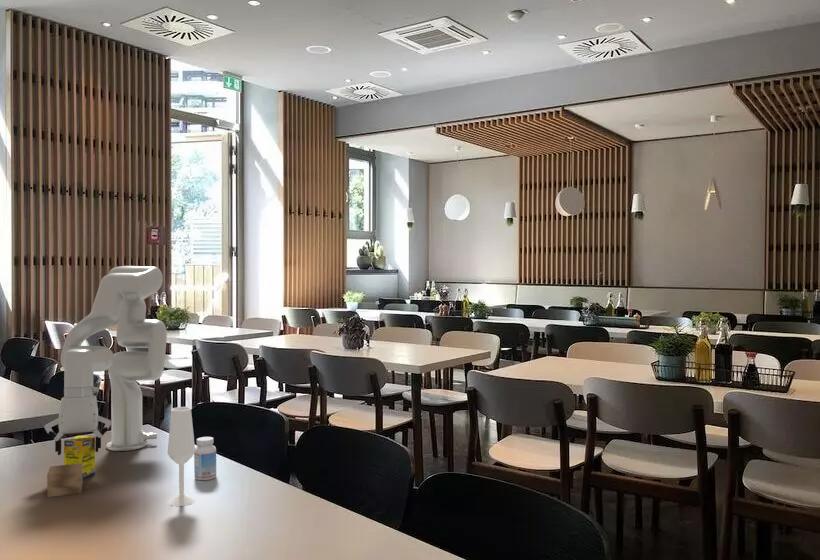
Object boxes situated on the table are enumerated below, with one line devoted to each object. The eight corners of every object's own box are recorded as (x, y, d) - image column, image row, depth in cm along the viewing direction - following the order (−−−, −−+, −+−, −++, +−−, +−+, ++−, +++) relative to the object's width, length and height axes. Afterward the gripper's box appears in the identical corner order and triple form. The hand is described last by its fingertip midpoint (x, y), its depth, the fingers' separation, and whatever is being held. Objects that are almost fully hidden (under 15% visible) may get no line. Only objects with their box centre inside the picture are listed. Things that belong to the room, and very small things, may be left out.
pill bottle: (219, 474, 200) (219, 436, 199) (211, 481, 193) (211, 441, 193) (199, 474, 200) (199, 435, 200) (190, 480, 194) (190, 441, 194)
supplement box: (82, 480, 194) (81, 441, 194) (63, 478, 195) (63, 440, 195) (95, 473, 200) (95, 436, 200) (77, 472, 201) (77, 435, 201)
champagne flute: (194, 495, 181) (194, 405, 181) (196, 504, 175) (195, 410, 175) (167, 498, 179) (166, 407, 178) (168, 507, 173) (167, 412, 172)
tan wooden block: (82, 484, 191) (82, 463, 190) (81, 493, 183) (81, 471, 183) (50, 488, 187) (49, 466, 187) (47, 497, 180) (47, 474, 180)
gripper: (111, 388, 204) (111, 446, 203) (45, 392, 197) (45, 452, 197) (111, 392, 197) (111, 452, 197) (43, 396, 190) (42, 458, 190)
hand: (78, 452), depth 197 cm, fingers open, 9 cm apart
